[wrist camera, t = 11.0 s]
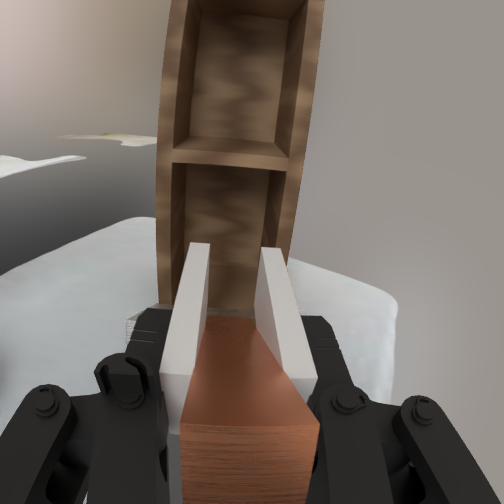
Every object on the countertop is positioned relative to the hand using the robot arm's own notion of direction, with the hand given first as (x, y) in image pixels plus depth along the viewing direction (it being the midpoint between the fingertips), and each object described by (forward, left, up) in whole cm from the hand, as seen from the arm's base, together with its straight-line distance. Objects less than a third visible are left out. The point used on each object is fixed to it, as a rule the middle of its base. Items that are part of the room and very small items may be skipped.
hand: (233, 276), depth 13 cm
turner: (0, -2, -3) cm, 4 cm away
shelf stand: (0, +17, -13) cm, 22 cm away
